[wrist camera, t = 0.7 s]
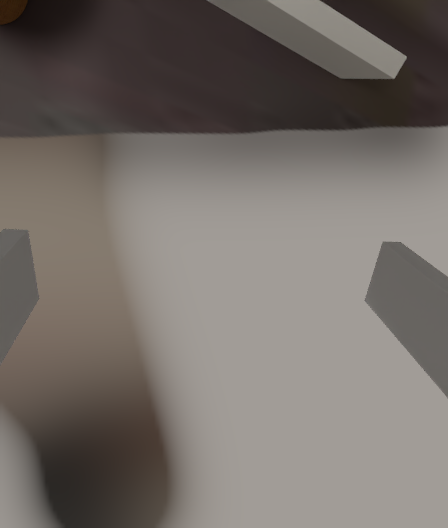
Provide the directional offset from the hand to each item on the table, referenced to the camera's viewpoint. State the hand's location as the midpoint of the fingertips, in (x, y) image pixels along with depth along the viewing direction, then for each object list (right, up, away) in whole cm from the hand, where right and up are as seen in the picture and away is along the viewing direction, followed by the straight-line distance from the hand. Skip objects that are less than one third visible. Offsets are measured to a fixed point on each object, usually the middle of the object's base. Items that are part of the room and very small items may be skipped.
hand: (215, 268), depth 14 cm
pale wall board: (+3, +22, +19) cm, 30 cm away
